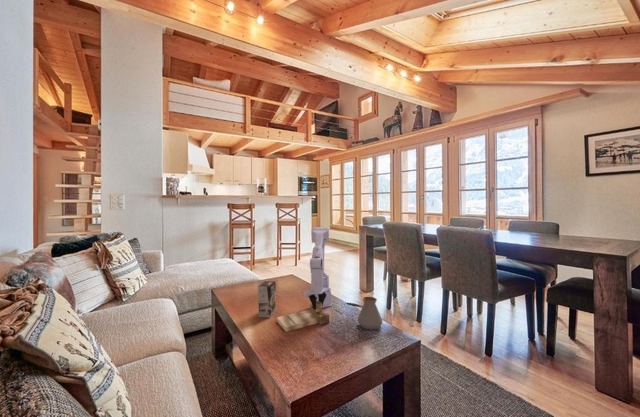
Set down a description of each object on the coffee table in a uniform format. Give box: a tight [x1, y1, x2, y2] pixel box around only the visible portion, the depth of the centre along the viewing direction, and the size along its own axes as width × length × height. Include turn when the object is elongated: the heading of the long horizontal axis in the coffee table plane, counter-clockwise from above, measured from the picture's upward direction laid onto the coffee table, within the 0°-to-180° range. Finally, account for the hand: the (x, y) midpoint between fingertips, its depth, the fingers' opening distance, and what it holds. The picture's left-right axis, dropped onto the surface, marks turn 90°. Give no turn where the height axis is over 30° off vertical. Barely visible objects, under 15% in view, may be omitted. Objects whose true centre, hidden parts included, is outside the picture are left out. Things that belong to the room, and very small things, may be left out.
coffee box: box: [257, 280, 277, 319], centre depth 141 cm, size 9×6×16 cm
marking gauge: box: [309, 301, 330, 325], centre depth 135 cm, size 5×13×8 cm, turn 29°
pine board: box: [276, 309, 319, 333], centre depth 132 cm, size 22×12×2 cm, turn 119°
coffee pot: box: [343, 296, 383, 331], centre depth 123 cm, size 21×12×15 cm, turn 129°
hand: (317, 308), depth 135 cm, fingers closed on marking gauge, 3 cm apart
